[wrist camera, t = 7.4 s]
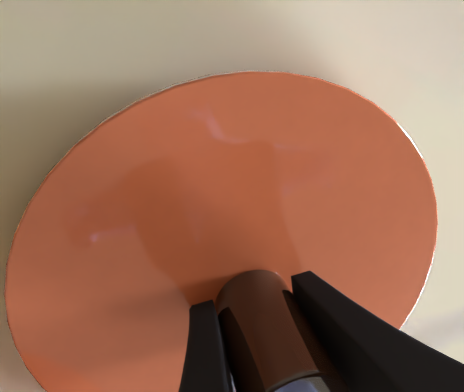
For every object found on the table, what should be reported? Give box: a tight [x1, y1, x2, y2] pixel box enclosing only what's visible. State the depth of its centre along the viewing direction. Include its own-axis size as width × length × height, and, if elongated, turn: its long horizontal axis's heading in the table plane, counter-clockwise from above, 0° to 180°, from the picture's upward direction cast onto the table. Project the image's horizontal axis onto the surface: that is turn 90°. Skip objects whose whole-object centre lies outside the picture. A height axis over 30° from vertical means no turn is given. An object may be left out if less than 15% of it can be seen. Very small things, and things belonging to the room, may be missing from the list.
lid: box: [4, 70, 438, 392], centre depth 9 cm, size 13×13×5 cm
